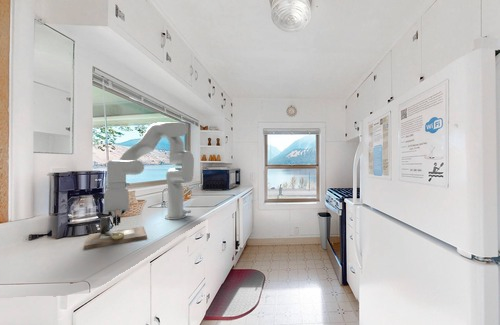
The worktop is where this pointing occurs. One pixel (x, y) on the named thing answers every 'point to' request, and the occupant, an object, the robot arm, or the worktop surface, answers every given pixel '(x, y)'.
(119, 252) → the worktop surface
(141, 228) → the board
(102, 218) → the tuner lever
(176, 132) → the robot arm
